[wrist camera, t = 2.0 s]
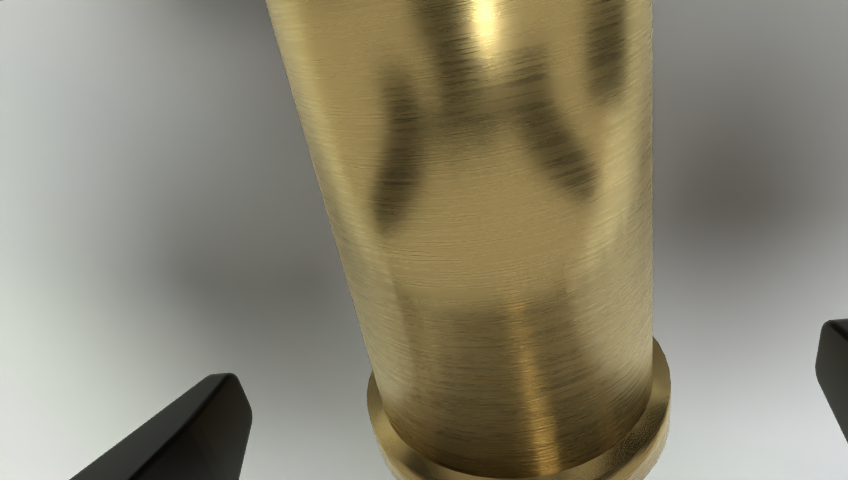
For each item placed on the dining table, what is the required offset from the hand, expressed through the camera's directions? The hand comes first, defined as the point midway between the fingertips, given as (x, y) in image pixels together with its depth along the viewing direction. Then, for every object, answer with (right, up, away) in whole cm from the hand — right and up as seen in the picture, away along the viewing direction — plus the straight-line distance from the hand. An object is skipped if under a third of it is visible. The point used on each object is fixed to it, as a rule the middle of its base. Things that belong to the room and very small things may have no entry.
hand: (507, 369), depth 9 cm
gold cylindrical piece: (0, +6, +2) cm, 7 cm away
